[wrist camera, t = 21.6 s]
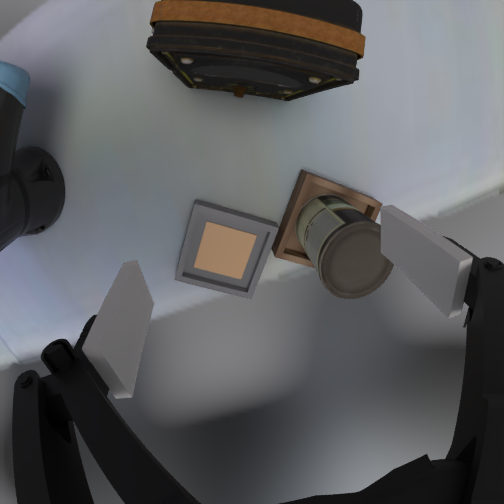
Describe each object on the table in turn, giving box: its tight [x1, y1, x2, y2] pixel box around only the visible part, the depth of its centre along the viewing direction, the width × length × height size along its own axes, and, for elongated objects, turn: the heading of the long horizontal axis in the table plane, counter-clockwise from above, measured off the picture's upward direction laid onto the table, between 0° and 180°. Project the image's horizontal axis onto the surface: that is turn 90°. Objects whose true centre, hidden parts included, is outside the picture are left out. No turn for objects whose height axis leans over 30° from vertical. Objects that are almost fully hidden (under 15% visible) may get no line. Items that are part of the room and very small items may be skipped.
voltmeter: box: [146, 0, 365, 101], centre depth 27 cm, size 16×9×25 cm, turn 81°
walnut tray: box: [272, 170, 382, 268], centre depth 47 cm, size 14×14×4 cm
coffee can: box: [295, 194, 394, 299], centre depth 41 cm, size 10×10×14 cm
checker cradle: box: [175, 200, 279, 299], centre depth 48 cm, size 13×13×2 cm
